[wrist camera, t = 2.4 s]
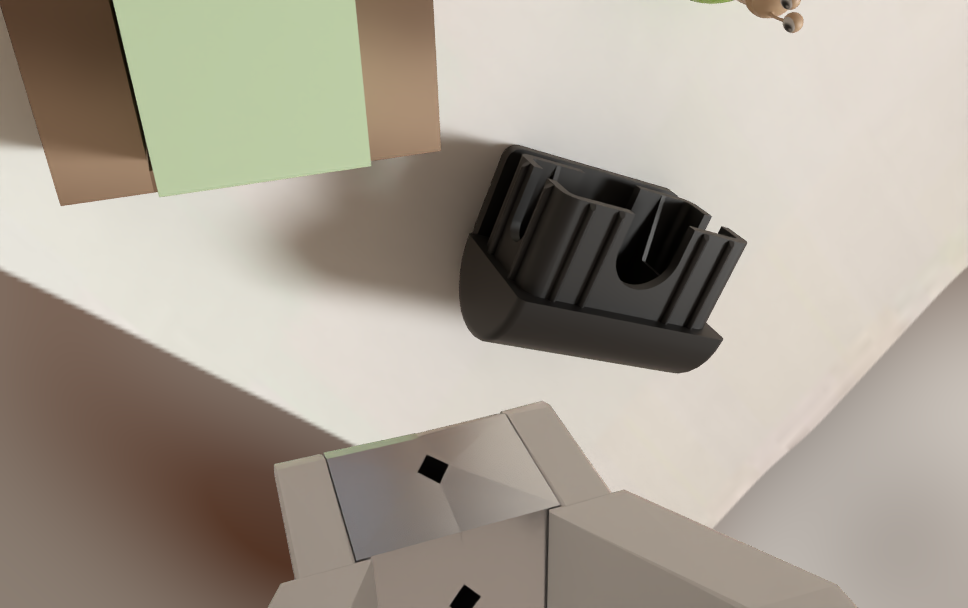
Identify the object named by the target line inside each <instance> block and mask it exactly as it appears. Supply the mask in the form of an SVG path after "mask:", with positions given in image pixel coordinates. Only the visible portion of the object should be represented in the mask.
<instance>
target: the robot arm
mask: <svg viewBox="0 0 968 608" xmlns="http://www.w3.org/2000/svg"><path fill="white" fill-rule="evenodd" d="M274 475H275V479H276V485H277V490H278V494H279V500H280V505H281V510H282V515H283V520H284V525H285V530H286V536H287V541H288V546H289V551H290V556H291V561H292V566H293V571H294V576H295V580H292V581H289V582H285V583H282V584H281V585H280V586H279V588H278V590H277V592H276V594H275V596H274V597H273V599H272V601H271V603H270V605H269V606H268V608H858V607H857V606H856V605H855V604H854V603H853V602H852V601H851V600H850V598H848V596H847V595H846V594H845V593H844V592H843V591H842V590H841V589H840V587H839V586H838V585H836V584H834V583H832V582H830V581H828V580H825V579H823V578H821V577H819V576H816V575H814V574H812V573H809V572H807V571H805V570H803V569H801V568H798V567H796V566H794V565H791V564H789V563H787V562H785V561H783V560H781V559H778V558H776V557H774V556H772V555H769V554H767V553H765V552H763V551H760V550H758V549H756V548H753V547H752V546H749V545H747V544H745V543H743V542H740V541H738V540H736V539H734V538H731V537H729V536H727V535H725V534H722V533H720V532H718V531H716V530H714V529H711V528H709V527H707V526H705V525H702V524H700V523H698V522H696V521H693V520H691V519H689V518H687V517H684V516H682V515H680V514H678V513H676V512H673V511H671V510H669V509H667V508H664V507H662V506H660V505H658V504H655V503H653V502H651V501H649V500H646V499H644V498H642V497H640V496H638V495H635V494H633V493H631V492H629V491H626V490H621V491H617V492H613V493H612V492H611V491H610V490H609V488H608V487H607V485H606V484H605V482H604V481H603V480H602V478H601V477H600V475H599V474H598V472H597V471H596V470H595V468H594V467H593V465H592V464H591V463H590V461H589V460H588V458H587V457H586V455H585V454H584V453H583V451H582V450H581V448H580V447H579V445H578V444H577V443H576V441H575V440H574V438H573V437H572V436H571V434H570V433H569V431H568V430H567V428H566V427H565V426H564V424H563V423H562V421H561V420H560V418H559V417H558V416H557V414H556V413H555V411H554V410H553V408H552V407H551V406H550V404H548V403H546V402H544V401H540V402H536V403H532V404H528V405H524V406H520V407H517V408H513V409H509V410H505V411H501V412H500V414H494V415H490V416H486V417H482V418H477V419H473V420H469V421H465V422H461V423H457V424H453V425H449V426H445V427H440V428H436V429H432V430H428V431H424V432H420V433H416V434H415V433H414V434H410V435H405V436H400V437H396V438H391V439H386V440H381V441H377V442H372V443H367V444H363V445H358V446H353V447H349V448H344V449H340V450H335V451H330V452H325V453H324V457H323V456H322V455H321V454H319V455H314V456H310V457H305V458H301V459H296V460H292V461H287V462H282V463H278V464H274Z"/></svg>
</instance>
